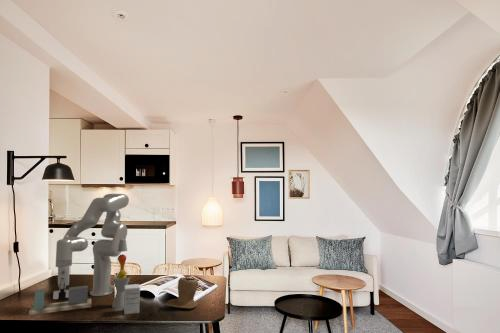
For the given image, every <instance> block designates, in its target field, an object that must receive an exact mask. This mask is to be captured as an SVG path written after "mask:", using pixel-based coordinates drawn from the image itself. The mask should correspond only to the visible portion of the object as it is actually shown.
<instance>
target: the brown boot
mask: <svg viewBox="0 0 500 333" xmlns="http://www.w3.org/2000/svg"><path fill="white" fill-rule="evenodd" d="M198 285H199V283H198V280H197V279H196V278H192V277H185V276H184V277H183V276H182V277H180V278H179V279H178V281H177V291H178V297H177V298H173V299H170V300H168V301H167V302H166V303H165V305H166V306H167V307H172V308H178V309H188V310H189V309H194V308H196V307H197V306H198V302H196V301H195V300H194V298H195V295H196V292H197V289H198ZM166 306H165V307H166Z"/></svg>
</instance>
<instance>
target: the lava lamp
mask: <svg viewBox="0 0 500 333" xmlns="http://www.w3.org/2000/svg"><path fill="white" fill-rule="evenodd" d="M126 239H127V238H126ZM126 239H120V242H119V247H118V251H119V252H121V253H122V252H127V251H128V246H127V240H126ZM126 260H127V256H126V255H125V254H123V253H122V254H119V255H118V256H117V261H118V263H119V265H120V267H119V271H118V275H114V276H112V280H113V283H114V284H113V285H115V287H116V289H115V291H116V293H115V295H114V298H113V302H112V305H111V307H112V308H113V309H124V287H125V285H129V281H130V279H131V275H128V274H127V271H126V270H125V265H126Z"/></svg>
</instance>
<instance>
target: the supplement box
mask: <svg viewBox="0 0 500 333" xmlns="http://www.w3.org/2000/svg"><path fill="white" fill-rule="evenodd" d="M140 287H141V286H140V284H139V283H134V284H128V285H125V287H124V308H123V313H124V314H123V315H132V314H139V313H140V299H141V298H140V295H141V288H140Z"/></svg>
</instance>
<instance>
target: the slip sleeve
mask: <svg viewBox="0 0 500 333" xmlns="http://www.w3.org/2000/svg"><path fill="white" fill-rule="evenodd" d="M68 290H69V297H68V300H67V302H68V306H69V305H77V304H85V303H87V300H88V299H89V296H88V295H89V285H80V286H79V285H78V286H71V287H70V286H69V287H68Z"/></svg>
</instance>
